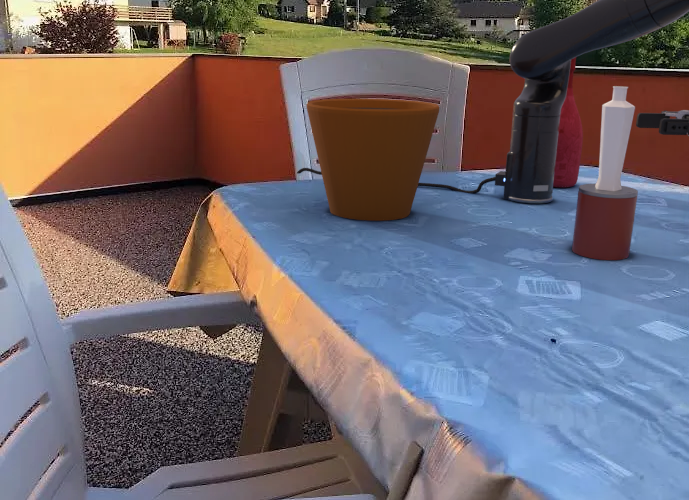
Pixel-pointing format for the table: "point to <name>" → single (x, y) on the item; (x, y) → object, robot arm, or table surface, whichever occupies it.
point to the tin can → (604, 222)
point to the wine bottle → (568, 140)
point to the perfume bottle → (614, 139)
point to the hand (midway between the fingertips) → (648, 123)
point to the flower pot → (371, 153)
